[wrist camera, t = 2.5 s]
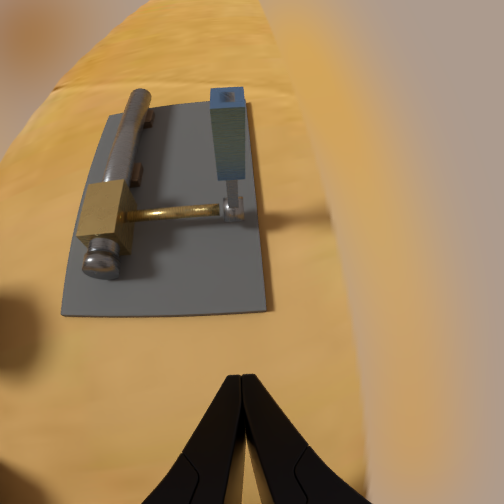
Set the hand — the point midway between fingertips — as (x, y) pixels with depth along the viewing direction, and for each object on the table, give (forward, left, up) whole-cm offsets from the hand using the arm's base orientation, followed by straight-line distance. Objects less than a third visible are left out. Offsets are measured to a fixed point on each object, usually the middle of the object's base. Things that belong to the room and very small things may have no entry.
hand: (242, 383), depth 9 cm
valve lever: (+1, -13, -12) cm, 18 cm away
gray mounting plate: (+9, -18, -14) cm, 24 cm away
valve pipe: (+9, -19, -13) cm, 25 cm away
